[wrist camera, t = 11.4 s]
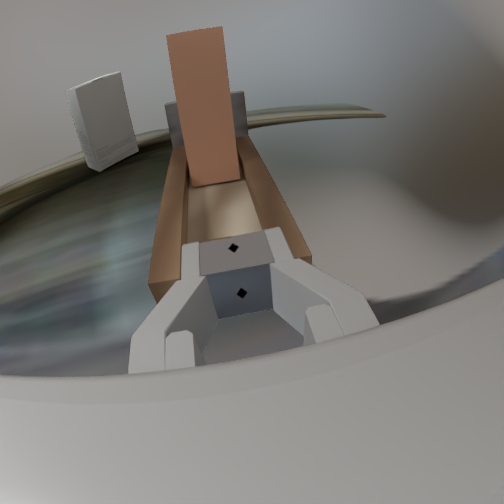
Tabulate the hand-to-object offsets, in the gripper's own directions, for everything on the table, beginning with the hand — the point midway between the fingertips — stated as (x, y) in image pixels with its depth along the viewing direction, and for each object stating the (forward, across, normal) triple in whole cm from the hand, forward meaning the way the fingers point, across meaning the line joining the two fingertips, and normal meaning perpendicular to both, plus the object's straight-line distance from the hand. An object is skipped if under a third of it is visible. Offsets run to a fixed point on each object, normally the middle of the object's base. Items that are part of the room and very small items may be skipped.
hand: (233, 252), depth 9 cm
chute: (+18, 0, +8) cm, 20 cm away
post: (+24, 0, +8) cm, 25 cm away
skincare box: (+40, +17, +8) cm, 45 cm away
